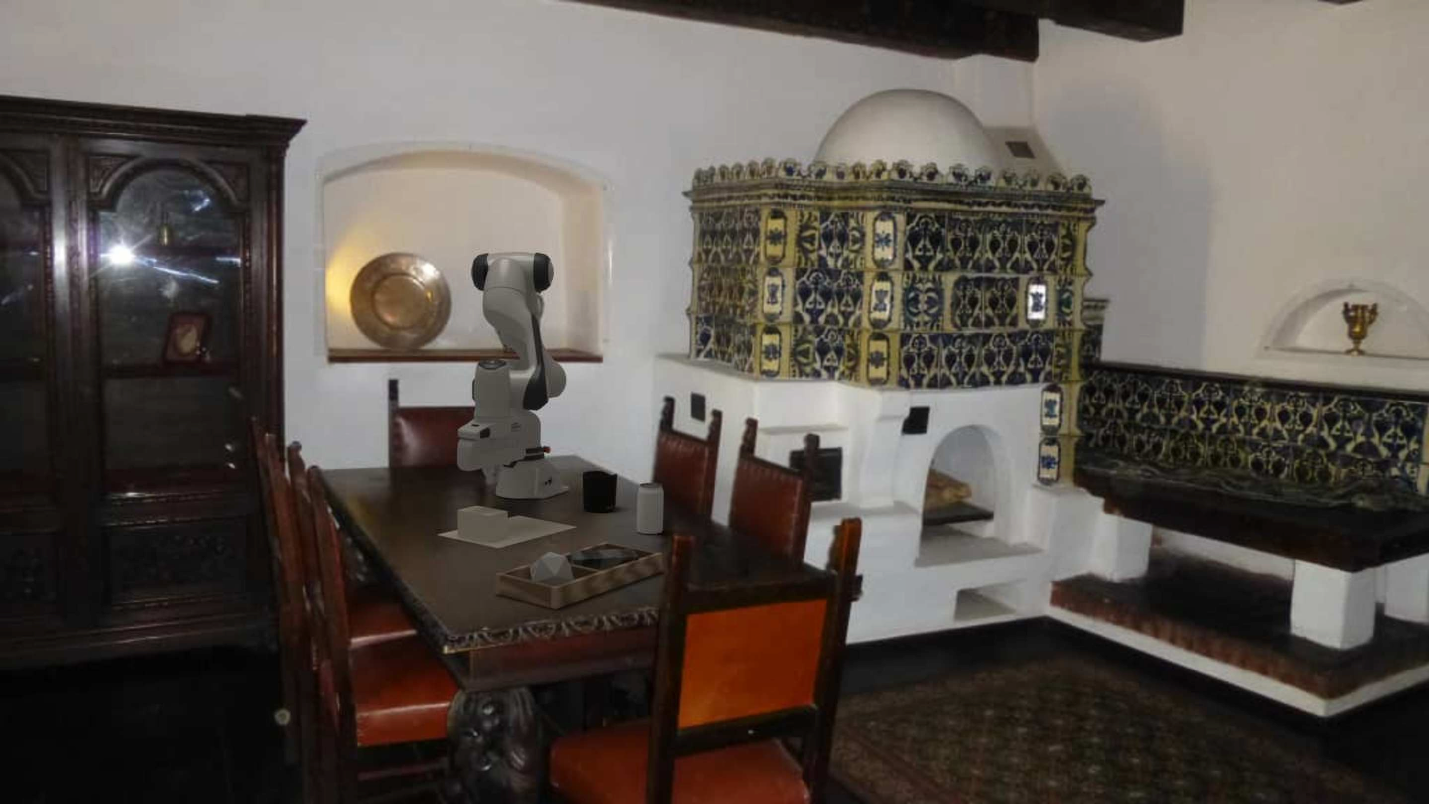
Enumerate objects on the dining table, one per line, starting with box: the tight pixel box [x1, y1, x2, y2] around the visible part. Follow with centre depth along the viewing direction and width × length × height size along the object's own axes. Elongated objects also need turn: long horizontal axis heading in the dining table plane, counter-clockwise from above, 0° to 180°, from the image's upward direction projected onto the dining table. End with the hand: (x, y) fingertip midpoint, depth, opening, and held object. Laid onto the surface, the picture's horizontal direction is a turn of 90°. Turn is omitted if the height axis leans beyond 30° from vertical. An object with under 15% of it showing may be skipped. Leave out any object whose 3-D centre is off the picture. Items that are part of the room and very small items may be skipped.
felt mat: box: [437, 515, 577, 549], centre depth 264 cm, size 28×20×1 cm
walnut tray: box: [494, 541, 664, 610], centre depth 223 cm, size 35×16×4 cm, turn 147°
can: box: [636, 482, 665, 535], centre depth 268 cm, size 6×6×12 cm
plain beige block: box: [456, 505, 509, 543], centre depth 256 cm, size 6×10×6 cm, turn 57°
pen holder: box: [582, 470, 618, 514], centre depth 292 cm, size 9×9×10 cm
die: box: [530, 551, 574, 586], centre depth 214 cm, size 8×9×10 cm
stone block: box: [569, 548, 638, 571], centre depth 229 cm, size 9×14×5 cm, turn 104°
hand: (492, 482), depth 262 cm, fingers closed
